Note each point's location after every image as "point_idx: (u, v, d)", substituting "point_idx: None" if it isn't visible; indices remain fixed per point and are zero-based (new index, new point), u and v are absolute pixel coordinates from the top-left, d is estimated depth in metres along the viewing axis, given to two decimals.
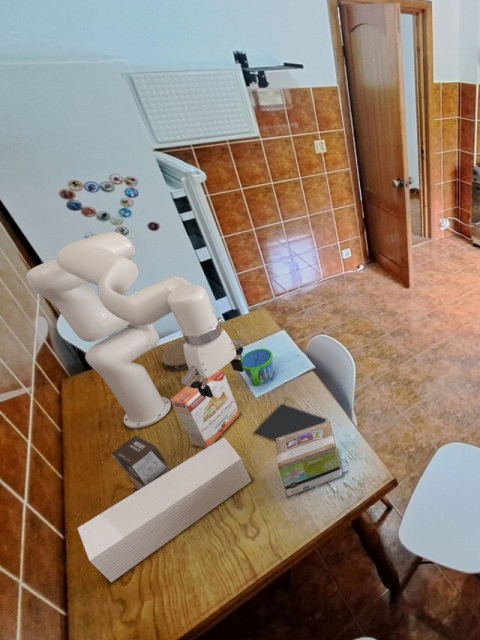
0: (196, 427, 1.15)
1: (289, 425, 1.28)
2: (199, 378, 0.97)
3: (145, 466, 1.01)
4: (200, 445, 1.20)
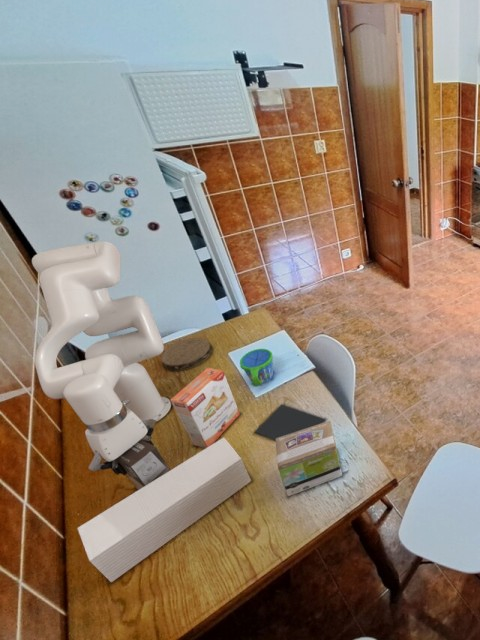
0: (196, 427, 1.15)
1: (289, 425, 1.28)
2: None
3: (145, 466, 1.01)
4: (200, 445, 1.20)
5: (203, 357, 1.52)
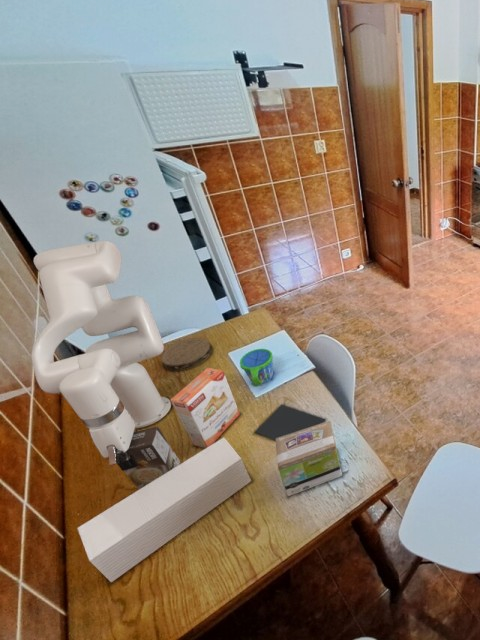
0: (196, 427, 1.15)
1: (289, 425, 1.28)
2: None
3: (159, 444, 1.05)
4: (200, 445, 1.20)
5: (203, 357, 1.52)
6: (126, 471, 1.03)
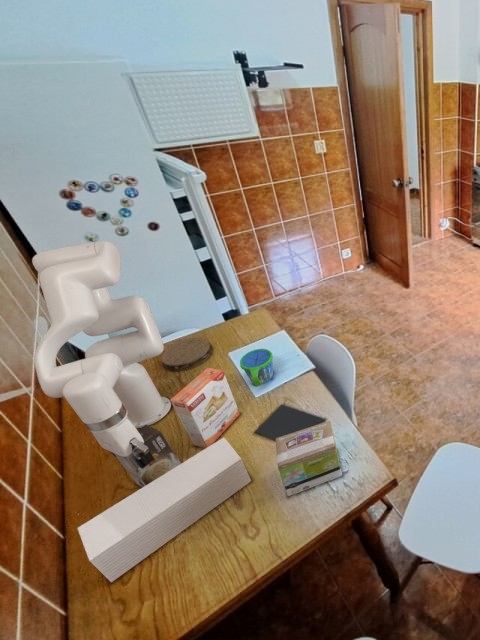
0: (196, 427, 1.15)
1: (289, 425, 1.28)
2: None
3: None
4: (200, 445, 1.20)
5: (203, 357, 1.52)
6: (140, 473, 1.04)
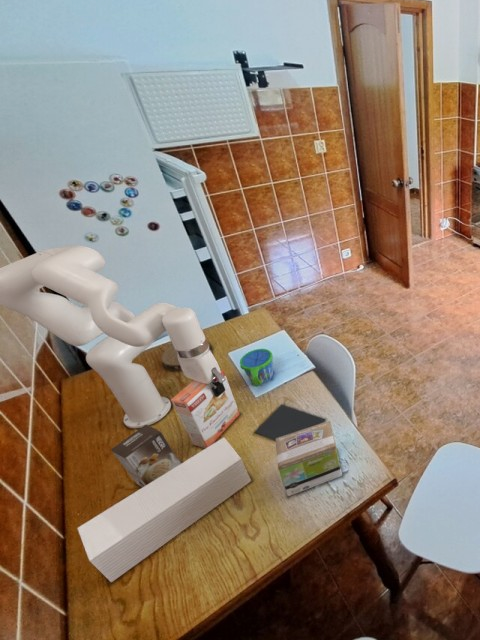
0: (196, 427, 1.15)
1: (289, 425, 1.28)
2: None
3: None
4: (200, 445, 1.20)
5: None
6: (140, 473, 1.04)
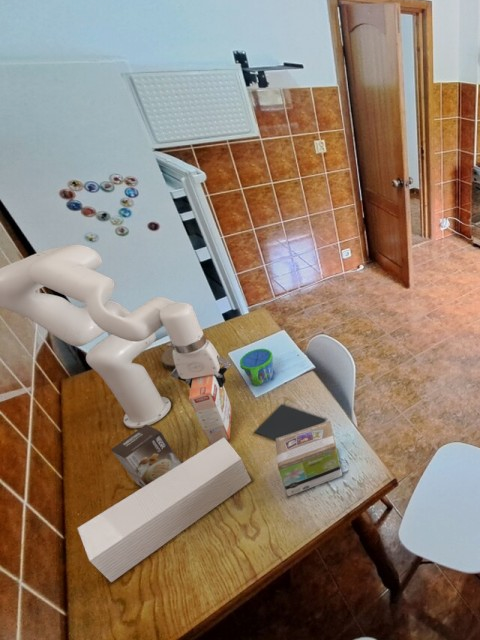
0: (219, 418, 1.16)
1: (289, 425, 1.28)
2: None
3: None
4: None
5: None
6: (140, 473, 1.04)
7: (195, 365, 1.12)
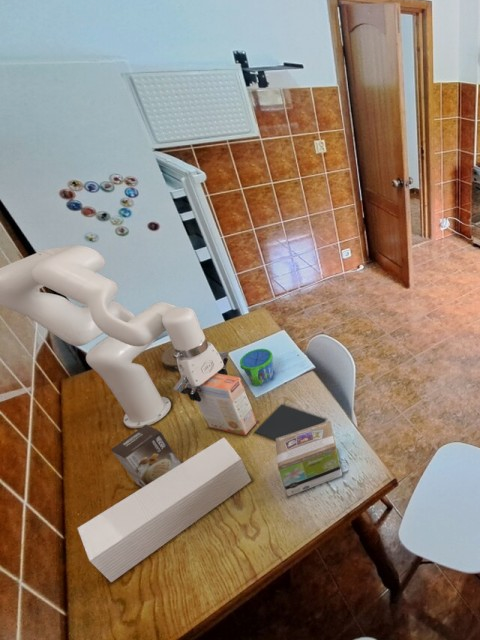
0: (248, 402, 1.23)
1: (289, 425, 1.28)
2: None
3: None
4: (251, 426, 1.26)
5: None
6: (140, 473, 1.04)
7: (206, 365, 1.14)
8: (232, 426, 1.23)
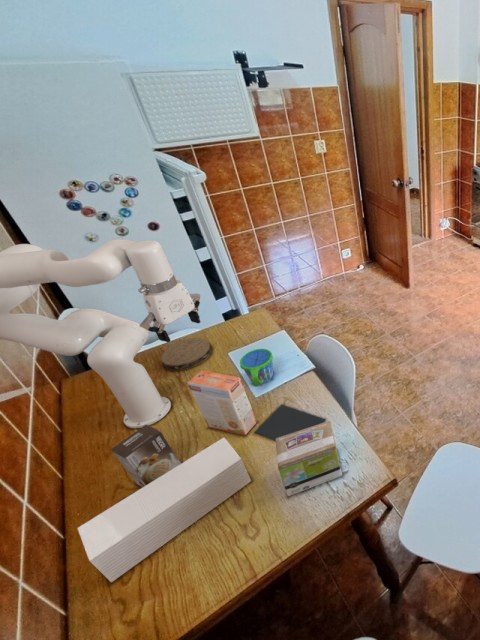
0: (248, 402, 1.23)
1: (289, 425, 1.28)
2: None
3: None
4: (251, 425, 1.26)
5: (203, 357, 1.52)
6: (140, 473, 1.04)
7: (175, 304, 1.11)
8: (232, 426, 1.23)
